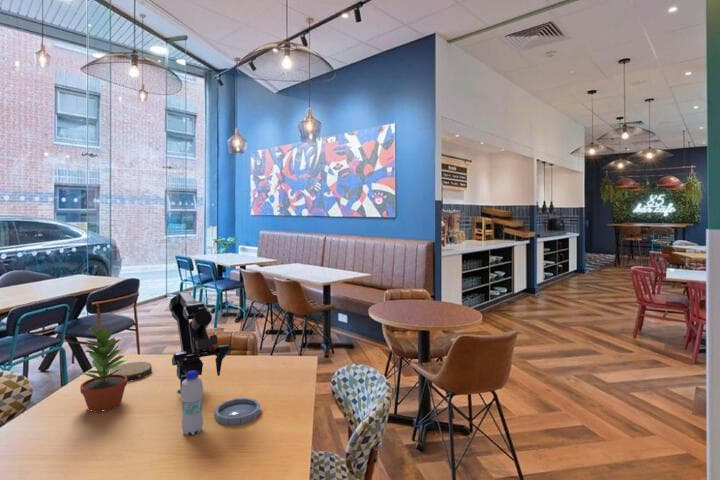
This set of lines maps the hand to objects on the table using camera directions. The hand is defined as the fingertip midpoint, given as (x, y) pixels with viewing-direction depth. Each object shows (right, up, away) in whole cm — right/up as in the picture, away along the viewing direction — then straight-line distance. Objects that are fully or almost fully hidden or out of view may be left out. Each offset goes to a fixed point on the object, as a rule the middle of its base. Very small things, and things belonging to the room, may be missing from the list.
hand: (205, 378), depth 138 cm
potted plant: (-40, -13, +9) cm, 43 cm away
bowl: (+10, -13, +3) cm, 17 cm away
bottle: (-1, -14, -9) cm, 17 cm away
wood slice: (-47, -11, +37) cm, 61 cm away
